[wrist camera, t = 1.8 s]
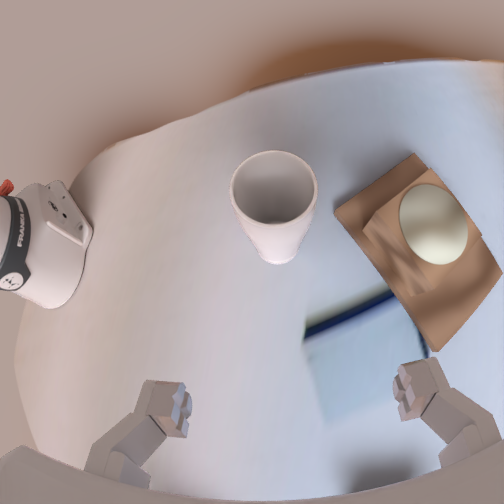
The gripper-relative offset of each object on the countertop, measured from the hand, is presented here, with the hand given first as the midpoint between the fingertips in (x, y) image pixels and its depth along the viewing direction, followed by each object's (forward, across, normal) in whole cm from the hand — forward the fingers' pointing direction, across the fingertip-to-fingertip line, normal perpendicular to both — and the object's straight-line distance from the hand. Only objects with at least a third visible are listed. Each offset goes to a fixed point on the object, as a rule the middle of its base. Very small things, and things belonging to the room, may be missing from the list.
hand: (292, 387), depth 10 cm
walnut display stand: (+24, -20, +9) cm, 32 cm away
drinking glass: (+26, 0, +8) cm, 27 cm away
